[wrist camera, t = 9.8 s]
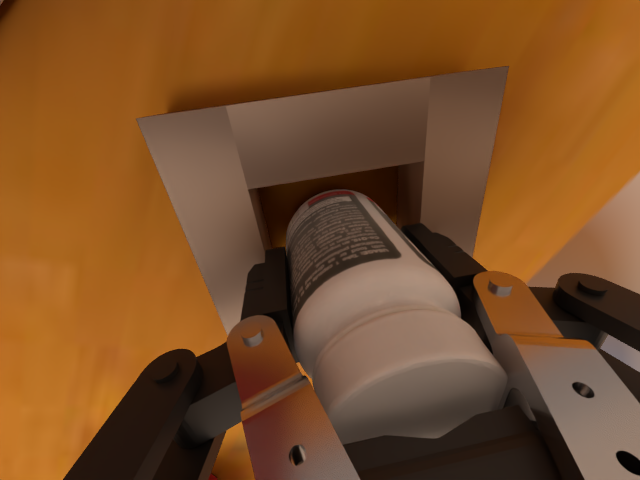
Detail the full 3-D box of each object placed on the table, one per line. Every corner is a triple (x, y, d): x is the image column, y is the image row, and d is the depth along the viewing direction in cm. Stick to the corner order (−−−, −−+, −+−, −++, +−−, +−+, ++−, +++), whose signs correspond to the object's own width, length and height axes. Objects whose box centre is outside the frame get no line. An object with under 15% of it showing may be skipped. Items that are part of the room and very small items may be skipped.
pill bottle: (274, 265, 13) (271, 484, 6) (303, 173, 11) (354, 326, 4) (361, 283, 14) (449, 479, 7) (400, 203, 12) (579, 360, 5)
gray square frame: (166, 113, 10) (136, 118, 8) (463, 71, 11) (508, 65, 9) (246, 331, 16) (241, 367, 14) (436, 294, 17) (459, 323, 15)
